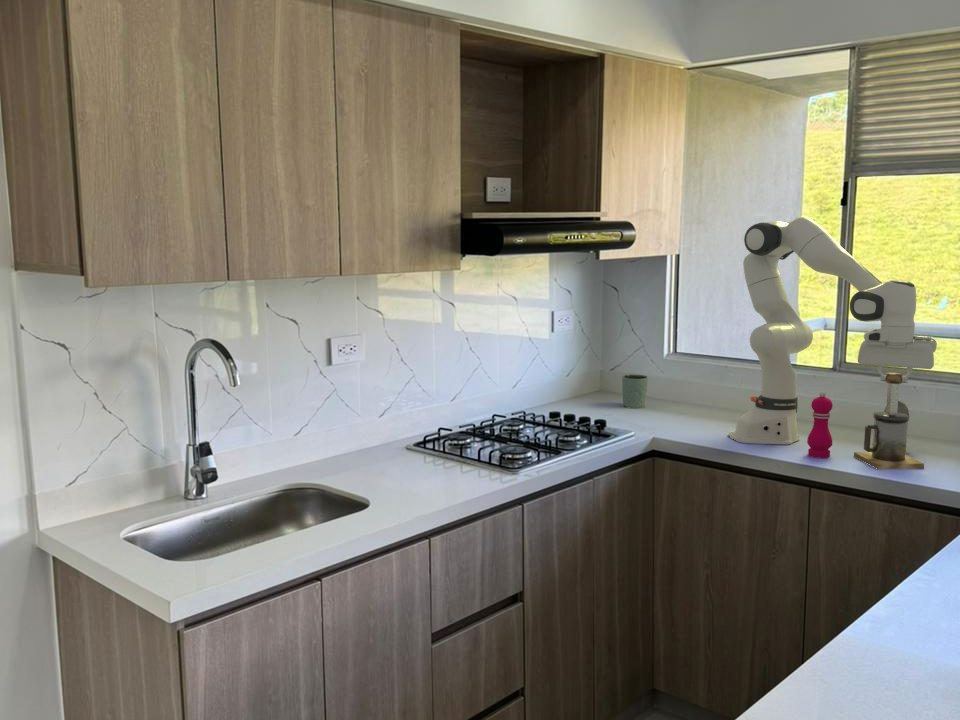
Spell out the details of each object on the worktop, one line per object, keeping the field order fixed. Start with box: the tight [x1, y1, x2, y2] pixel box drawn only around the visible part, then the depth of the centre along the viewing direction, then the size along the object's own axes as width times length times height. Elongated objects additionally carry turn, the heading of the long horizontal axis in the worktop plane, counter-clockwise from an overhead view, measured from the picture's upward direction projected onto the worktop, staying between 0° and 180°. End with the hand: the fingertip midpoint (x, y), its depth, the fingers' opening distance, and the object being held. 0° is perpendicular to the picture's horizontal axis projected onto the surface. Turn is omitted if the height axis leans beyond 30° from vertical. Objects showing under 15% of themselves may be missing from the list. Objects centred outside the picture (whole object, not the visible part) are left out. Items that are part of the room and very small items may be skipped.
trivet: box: [853, 451, 925, 470], centre depth 257 cm, size 14×14×2 cm
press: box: [863, 411, 910, 462], centre depth 255 cm, size 12×10×22 cm
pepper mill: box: [806, 391, 834, 459], centre depth 263 cm, size 7×7×20 cm
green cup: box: [621, 373, 649, 409], centre depth 339 cm, size 10×10×12 cm
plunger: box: [885, 372, 904, 415], centre depth 254 cm, size 4×4×12 cm
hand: (893, 381), depth 253 cm, fingers closed on plunger, 4 cm apart
